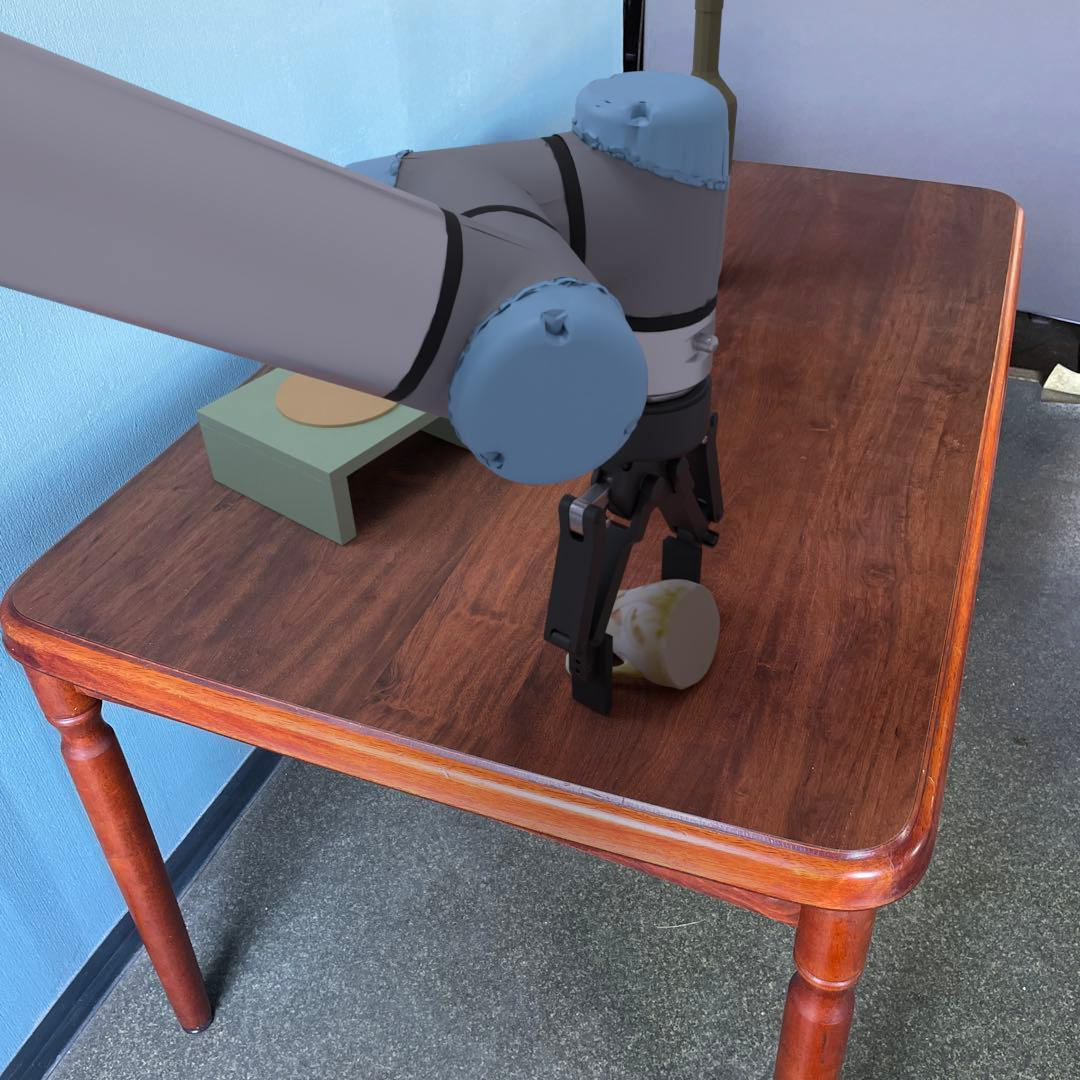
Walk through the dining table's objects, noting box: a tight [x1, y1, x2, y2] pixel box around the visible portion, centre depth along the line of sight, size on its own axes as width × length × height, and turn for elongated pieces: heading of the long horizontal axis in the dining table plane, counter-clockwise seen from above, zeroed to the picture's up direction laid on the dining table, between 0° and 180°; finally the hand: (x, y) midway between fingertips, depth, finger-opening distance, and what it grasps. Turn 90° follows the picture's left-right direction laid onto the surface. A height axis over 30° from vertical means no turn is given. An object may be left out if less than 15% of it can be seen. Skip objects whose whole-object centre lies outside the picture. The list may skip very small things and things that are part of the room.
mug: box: [565, 579, 721, 690], centre depth 72 cm, size 8×10×10 cm
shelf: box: [195, 367, 472, 546], centre depth 93 cm, size 16×18×7 cm
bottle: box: [690, 0, 738, 281], centre depth 113 cm, size 7×7×30 cm
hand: (637, 657), depth 74 cm, fingers open, 10 cm apart
